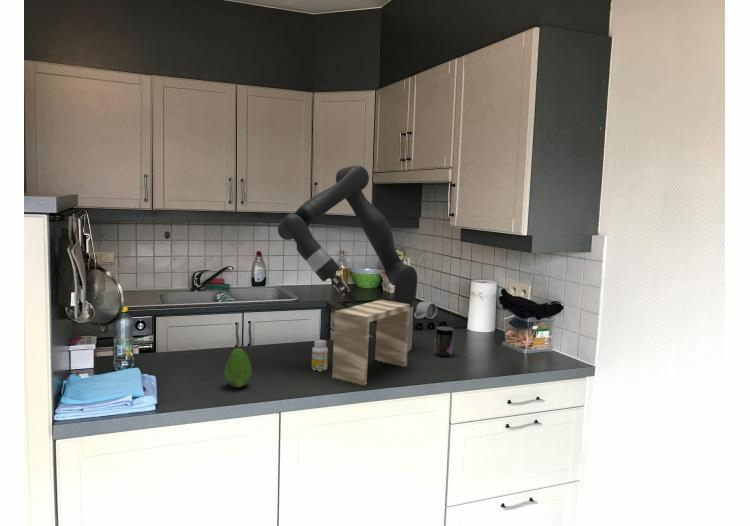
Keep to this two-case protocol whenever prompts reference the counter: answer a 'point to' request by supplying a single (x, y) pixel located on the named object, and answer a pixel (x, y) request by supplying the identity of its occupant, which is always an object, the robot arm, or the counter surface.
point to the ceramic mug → (426, 310)
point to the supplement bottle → (320, 355)
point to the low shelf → (355, 338)
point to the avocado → (238, 368)
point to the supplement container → (444, 341)
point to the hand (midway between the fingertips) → (354, 301)
